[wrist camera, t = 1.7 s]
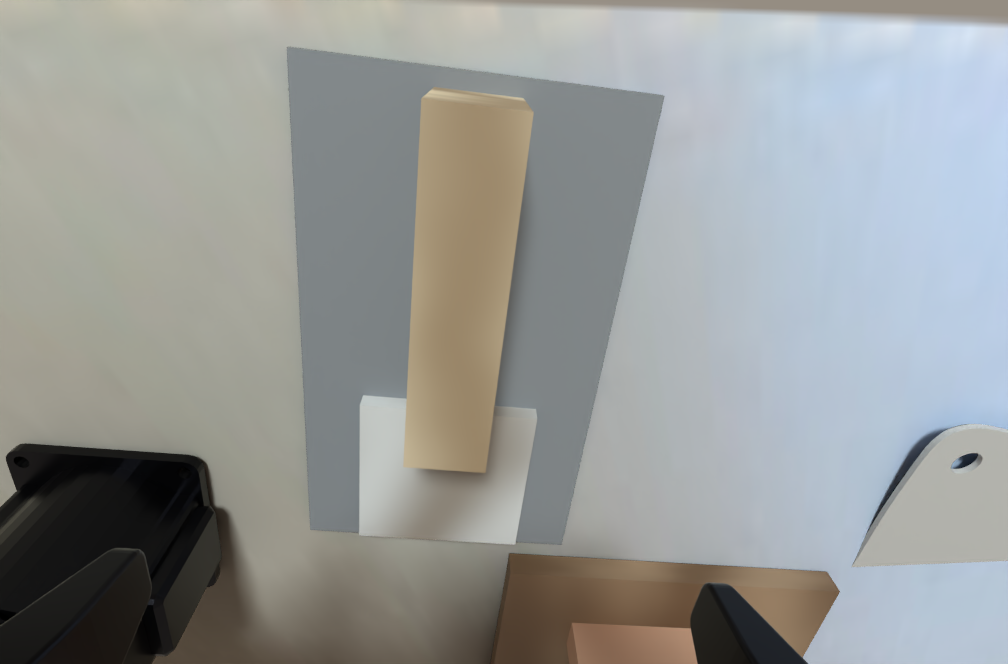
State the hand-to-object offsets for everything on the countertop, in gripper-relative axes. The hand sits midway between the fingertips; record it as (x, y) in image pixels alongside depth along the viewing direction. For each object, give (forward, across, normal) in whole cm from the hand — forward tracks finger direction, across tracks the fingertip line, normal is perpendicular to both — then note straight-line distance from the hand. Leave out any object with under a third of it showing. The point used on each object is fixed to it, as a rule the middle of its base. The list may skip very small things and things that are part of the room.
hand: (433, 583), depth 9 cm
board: (+10, -10, +18) cm, 23 cm away
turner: (+10, 0, +1) cm, 10 cm away
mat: (+10, 0, +1) cm, 10 cm away
